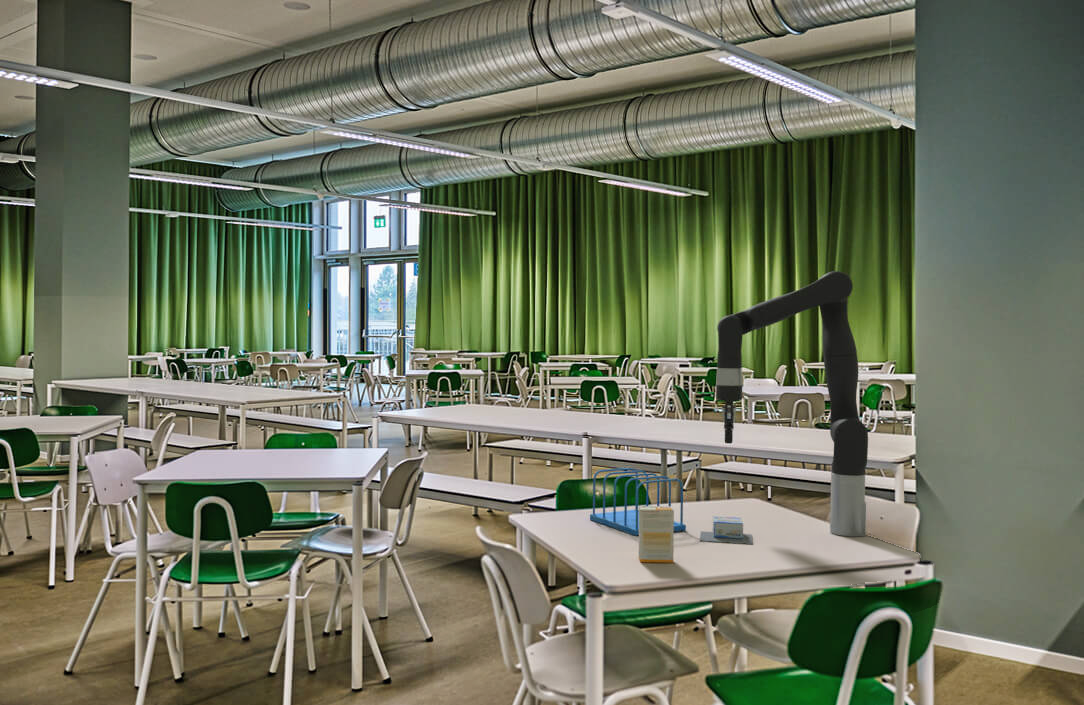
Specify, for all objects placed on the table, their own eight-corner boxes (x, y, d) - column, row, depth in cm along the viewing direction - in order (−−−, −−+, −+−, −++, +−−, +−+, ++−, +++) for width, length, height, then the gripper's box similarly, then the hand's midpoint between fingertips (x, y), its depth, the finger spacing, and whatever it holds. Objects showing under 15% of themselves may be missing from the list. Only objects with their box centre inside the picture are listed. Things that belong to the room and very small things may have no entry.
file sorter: (589, 520, 265) (590, 469, 265) (636, 516, 273) (637, 466, 273) (636, 536, 243) (636, 481, 243) (686, 531, 251) (687, 477, 251)
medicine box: (741, 517, 248) (743, 523, 239) (740, 533, 248) (743, 539, 239) (712, 516, 249) (714, 521, 240) (712, 532, 249) (713, 538, 240)
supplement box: (671, 558, 217) (672, 505, 217) (673, 563, 212) (674, 509, 212) (637, 558, 217) (638, 505, 217) (639, 562, 212) (640, 508, 212)
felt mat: (751, 535, 246) (751, 534, 246) (752, 544, 235) (752, 543, 235) (700, 532, 249) (700, 531, 249) (699, 541, 237) (699, 540, 237)
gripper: (742, 384, 249) (742, 445, 249) (741, 383, 262) (741, 441, 262) (716, 384, 250) (715, 445, 250) (716, 382, 263) (715, 440, 263)
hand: (728, 443), depth 256 cm, fingers closed
